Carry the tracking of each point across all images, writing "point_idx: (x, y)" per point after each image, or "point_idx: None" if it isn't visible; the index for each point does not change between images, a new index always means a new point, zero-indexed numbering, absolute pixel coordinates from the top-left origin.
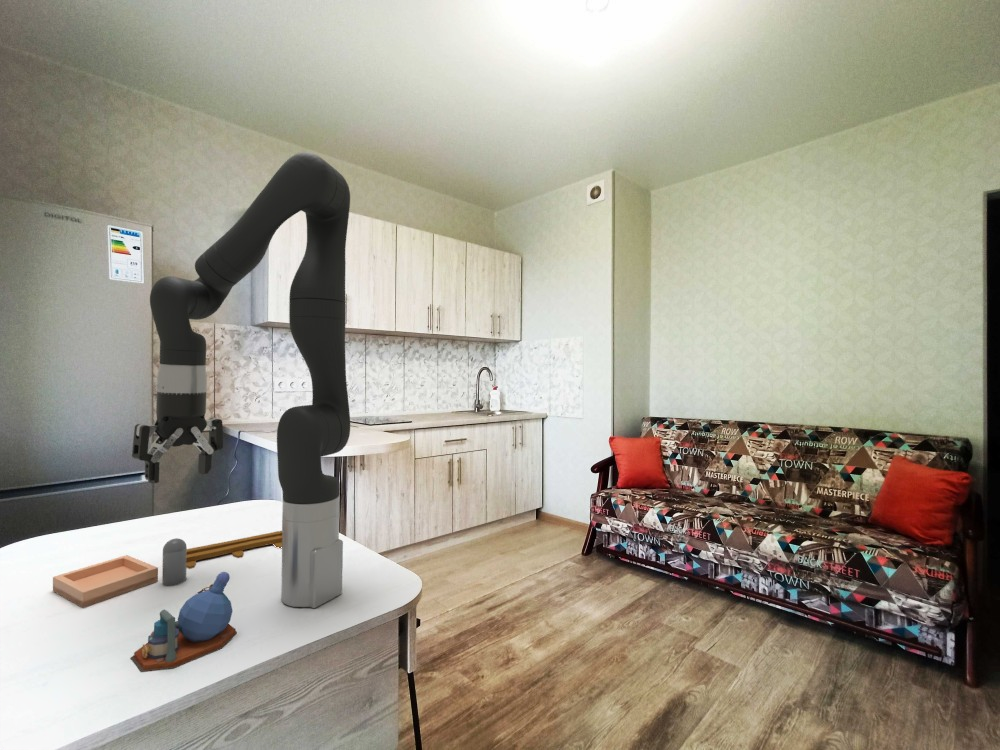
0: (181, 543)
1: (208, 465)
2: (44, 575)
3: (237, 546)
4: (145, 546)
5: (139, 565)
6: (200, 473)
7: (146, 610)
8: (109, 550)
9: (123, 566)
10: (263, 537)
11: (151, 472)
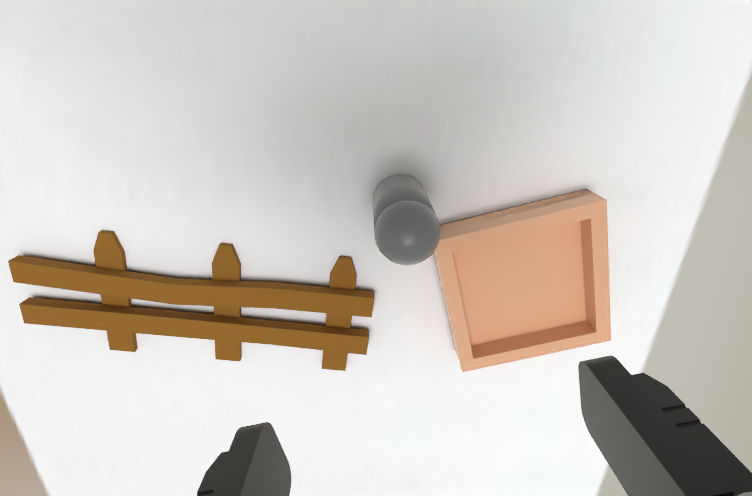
0: (394, 219)
1: (220, 478)
2: (576, 408)
3: (220, 289)
4: (392, 443)
5: (459, 292)
6: (284, 456)
7: (499, 62)
8: (453, 461)
9: (470, 341)
10: (141, 313)
11: (680, 422)
